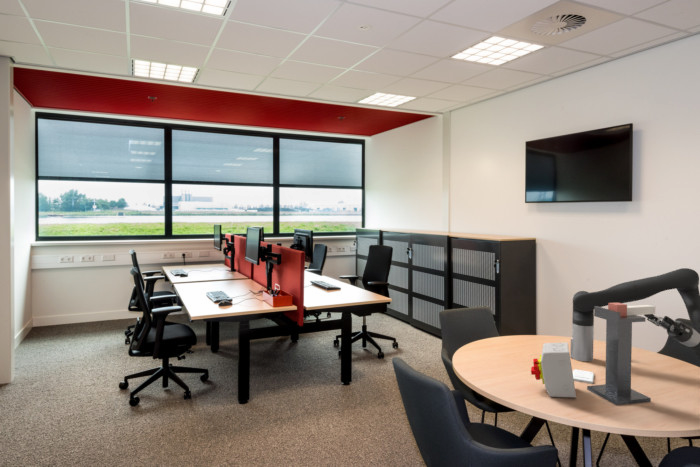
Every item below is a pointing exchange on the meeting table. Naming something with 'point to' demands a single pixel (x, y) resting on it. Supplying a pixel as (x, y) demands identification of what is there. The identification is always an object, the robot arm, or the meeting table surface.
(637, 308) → the white bar pink end
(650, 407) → the meeting table surface
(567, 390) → the electrical switch box
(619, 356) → the headphone stand
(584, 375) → the external hard drive
